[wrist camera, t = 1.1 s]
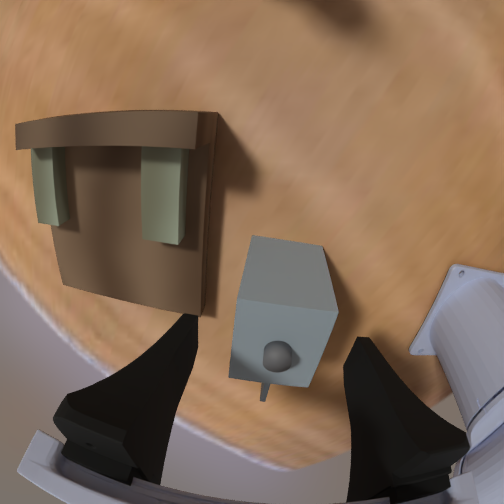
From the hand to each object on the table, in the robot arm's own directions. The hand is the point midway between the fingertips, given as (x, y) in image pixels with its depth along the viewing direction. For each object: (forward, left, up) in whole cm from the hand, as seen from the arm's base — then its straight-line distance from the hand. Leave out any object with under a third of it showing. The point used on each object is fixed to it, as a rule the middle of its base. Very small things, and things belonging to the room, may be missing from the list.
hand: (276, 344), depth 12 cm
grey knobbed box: (0, +1, -6) cm, 6 cm away
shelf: (+10, -3, -6) cm, 12 cm away
